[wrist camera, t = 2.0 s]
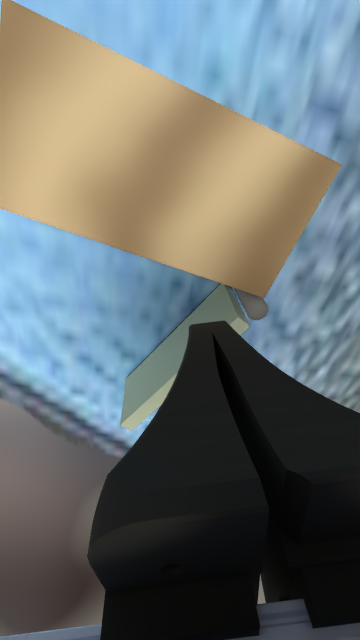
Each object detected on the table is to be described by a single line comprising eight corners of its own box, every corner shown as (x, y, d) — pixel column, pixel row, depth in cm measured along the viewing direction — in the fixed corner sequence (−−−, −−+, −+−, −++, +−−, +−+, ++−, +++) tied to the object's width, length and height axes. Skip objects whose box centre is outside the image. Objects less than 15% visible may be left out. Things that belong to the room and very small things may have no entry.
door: (237, 263, 21) (258, 297, 16) (258, 281, 22) (282, 318, 17) (125, 377, 25) (118, 425, 21) (145, 388, 26) (142, 437, 22)
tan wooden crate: (297, 157, 18) (342, 164, 13) (242, 264, 21) (264, 298, 17) (48, 37, 14) (2, -5, 10) (30, 187, 18) (-11, 204, 13)
